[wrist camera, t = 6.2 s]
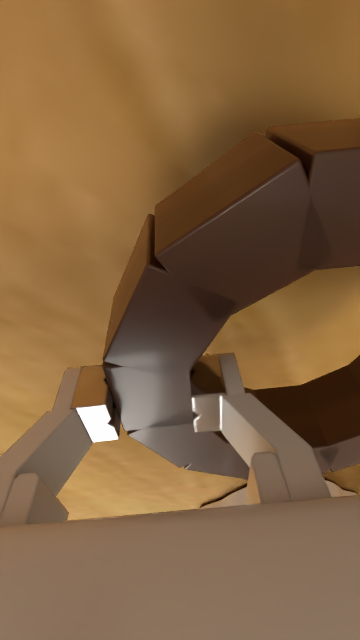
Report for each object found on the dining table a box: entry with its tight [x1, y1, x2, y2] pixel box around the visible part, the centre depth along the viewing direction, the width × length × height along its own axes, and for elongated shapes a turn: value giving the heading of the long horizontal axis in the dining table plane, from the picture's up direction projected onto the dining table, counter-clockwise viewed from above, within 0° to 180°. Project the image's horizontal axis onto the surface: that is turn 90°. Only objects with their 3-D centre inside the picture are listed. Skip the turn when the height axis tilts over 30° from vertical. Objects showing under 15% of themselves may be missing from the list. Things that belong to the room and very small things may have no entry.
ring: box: [102, 118, 360, 479], centre depth 11 cm, size 13×13×3 cm
